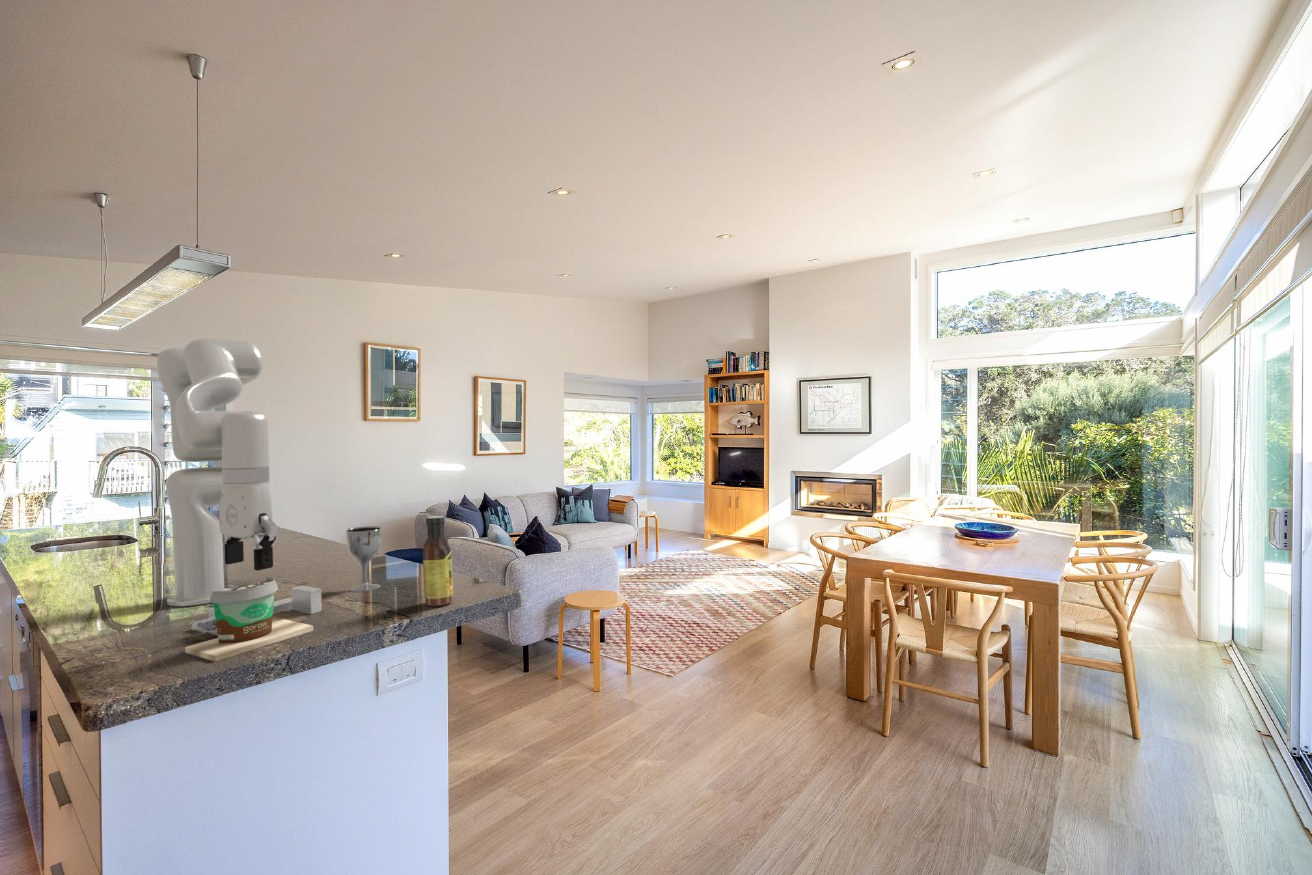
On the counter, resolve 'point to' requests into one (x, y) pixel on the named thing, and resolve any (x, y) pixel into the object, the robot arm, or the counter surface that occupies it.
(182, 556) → the robot arm
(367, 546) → the wine glass
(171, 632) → the counter surface
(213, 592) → the food container
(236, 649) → the light wood flat board
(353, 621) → the counter surface
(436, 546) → the sauce bottle
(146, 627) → the counter surface
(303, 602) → the vise
